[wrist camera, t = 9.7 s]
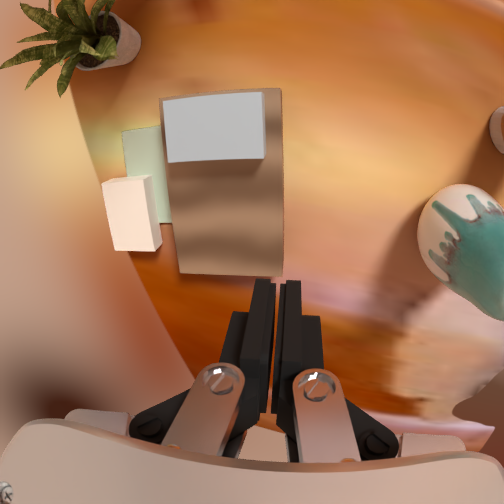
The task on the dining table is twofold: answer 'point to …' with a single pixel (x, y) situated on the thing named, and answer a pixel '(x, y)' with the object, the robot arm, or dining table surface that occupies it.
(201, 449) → the robot arm
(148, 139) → the mat
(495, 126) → the coffee cup
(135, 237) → the cream block
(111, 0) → the house plant
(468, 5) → the dining table surface
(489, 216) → the vase
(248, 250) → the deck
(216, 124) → the gray rectangular block
